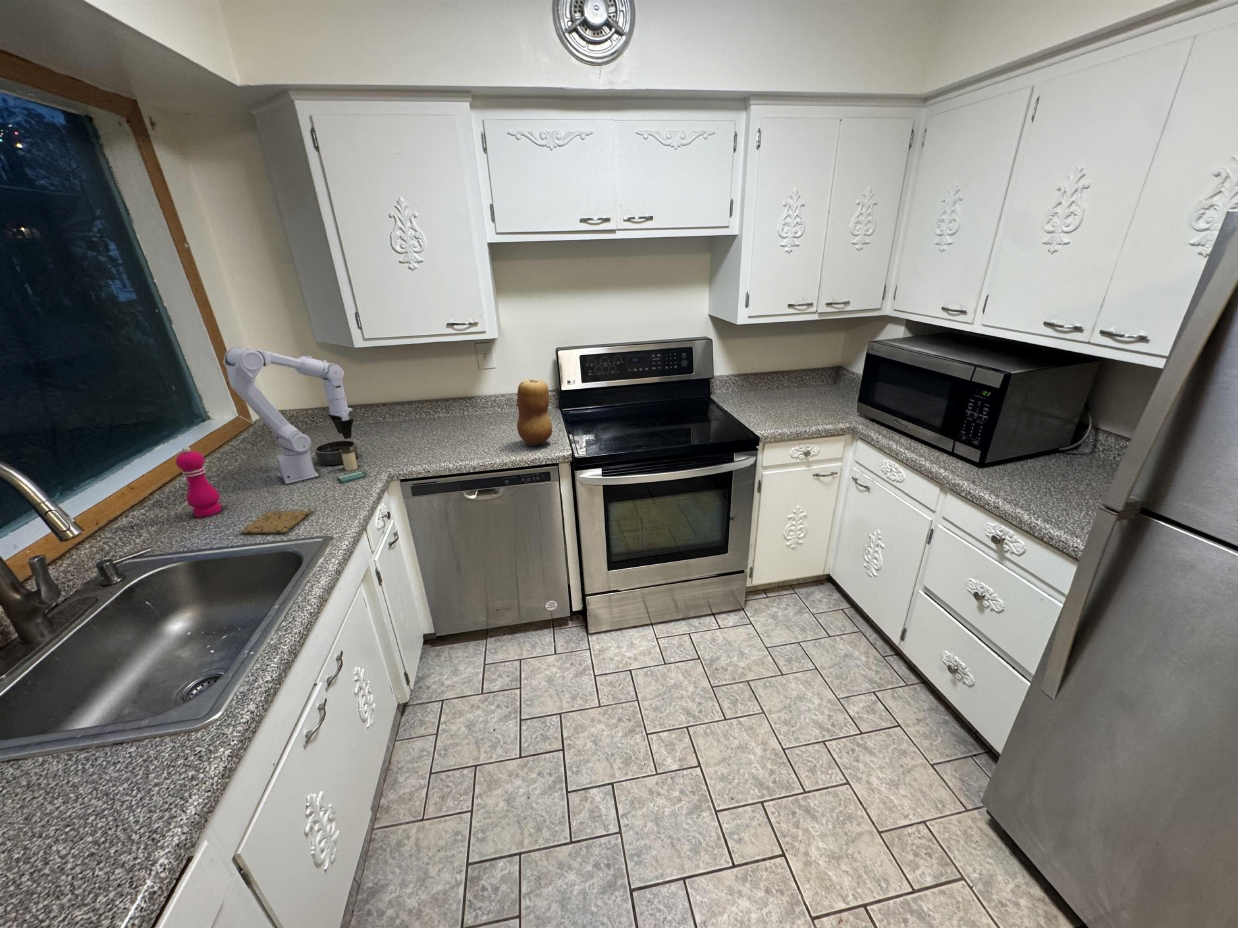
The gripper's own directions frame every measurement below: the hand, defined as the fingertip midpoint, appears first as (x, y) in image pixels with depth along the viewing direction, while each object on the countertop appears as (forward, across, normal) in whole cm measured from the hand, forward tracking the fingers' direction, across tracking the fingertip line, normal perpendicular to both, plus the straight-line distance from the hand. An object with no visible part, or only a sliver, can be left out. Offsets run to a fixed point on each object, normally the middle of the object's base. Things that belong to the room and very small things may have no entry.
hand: (344, 435), depth 178 cm
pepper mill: (+10, -16, +42) cm, 46 cm away
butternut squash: (+10, -30, -59) cm, 67 cm away
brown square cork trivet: (+9, -37, +28) cm, 47 cm away
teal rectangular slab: (+9, -17, +4) cm, 20 cm away
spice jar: (+9, -8, +2) cm, 13 cm away
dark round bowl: (+9, +4, +3) cm, 11 cm away
